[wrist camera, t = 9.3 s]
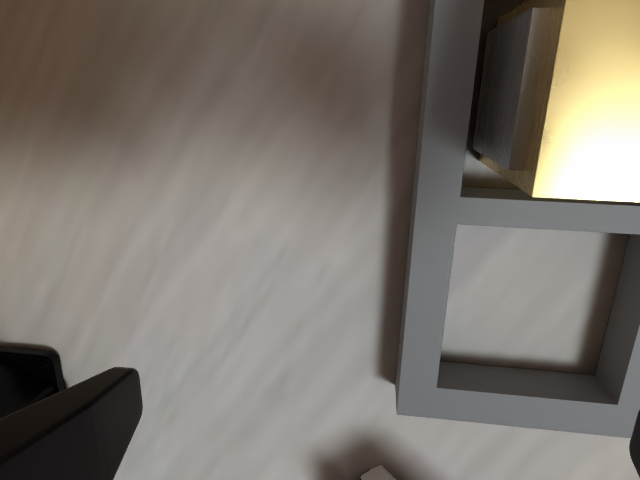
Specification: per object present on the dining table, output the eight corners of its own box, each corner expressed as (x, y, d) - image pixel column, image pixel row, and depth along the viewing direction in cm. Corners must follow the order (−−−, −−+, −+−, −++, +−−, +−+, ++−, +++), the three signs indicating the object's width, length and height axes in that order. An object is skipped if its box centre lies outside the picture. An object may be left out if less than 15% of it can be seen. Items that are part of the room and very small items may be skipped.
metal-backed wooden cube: (468, 160, 18) (516, 196, 12) (485, 19, 16) (551, -26, 10) (626, 166, 17) (764, 208, 11) (661, 20, 16) (844, -26, 9)
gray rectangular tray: (395, 385, 21) (396, 414, 19) (435, -61, 16) (442, -82, 14) (623, 407, 20) (649, 440, 18) (755, -65, 14) (812, -88, 13)
